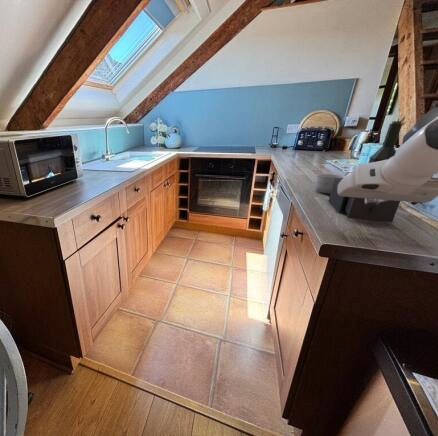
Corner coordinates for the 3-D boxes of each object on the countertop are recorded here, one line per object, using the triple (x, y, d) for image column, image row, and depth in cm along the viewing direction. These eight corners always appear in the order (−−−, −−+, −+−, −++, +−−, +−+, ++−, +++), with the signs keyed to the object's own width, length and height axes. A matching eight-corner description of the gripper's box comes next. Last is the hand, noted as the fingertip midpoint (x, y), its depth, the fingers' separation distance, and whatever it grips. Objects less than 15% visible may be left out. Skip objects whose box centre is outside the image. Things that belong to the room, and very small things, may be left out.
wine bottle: (356, 194, 107) (380, 121, 95) (382, 197, 102) (410, 121, 91) (357, 199, 101) (383, 121, 89) (384, 202, 96) (415, 121, 85)
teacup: (310, 192, 110) (314, 175, 107) (315, 187, 118) (319, 171, 115) (348, 198, 102) (354, 180, 98) (351, 193, 109) (357, 175, 106)
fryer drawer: (393, 224, 76) (403, 200, 73) (349, 219, 80) (356, 196, 77) (374, 208, 88) (381, 187, 85) (336, 205, 92) (342, 185, 89)
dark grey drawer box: (383, 217, 83) (393, 190, 79) (338, 212, 87) (346, 187, 84) (366, 204, 95) (375, 180, 92) (328, 200, 100) (334, 177, 96)
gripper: (455, 168, 57) (415, 196, 69) (349, 163, 65) (330, 189, 77) (460, 191, 55) (418, 216, 67) (350, 184, 63) (330, 207, 75)
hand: (370, 202), depth 72 cm, fingers closed
